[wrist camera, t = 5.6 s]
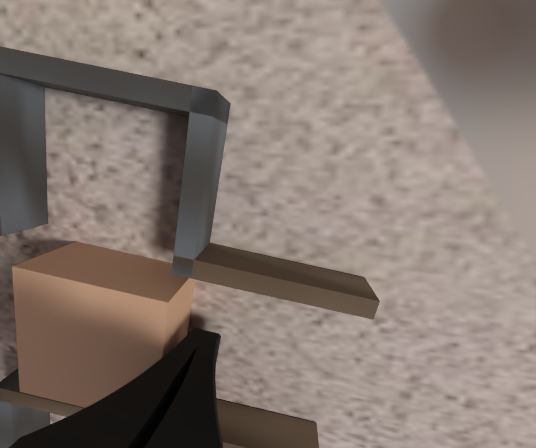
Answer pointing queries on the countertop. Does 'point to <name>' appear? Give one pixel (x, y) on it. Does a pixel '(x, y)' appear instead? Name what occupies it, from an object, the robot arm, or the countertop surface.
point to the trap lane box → (187, 233)
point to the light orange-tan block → (94, 320)
